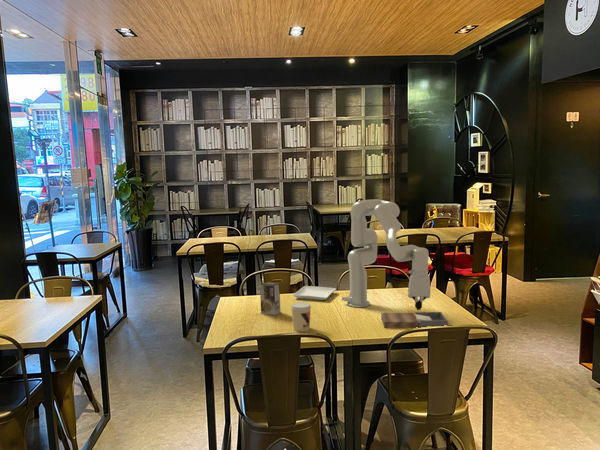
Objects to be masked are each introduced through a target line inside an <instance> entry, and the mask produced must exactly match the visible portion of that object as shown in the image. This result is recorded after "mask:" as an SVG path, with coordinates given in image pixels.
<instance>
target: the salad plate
mask: <svg viewBox="0 0 600 450" xmlns="http://www.w3.org/2000/svg"><path fill="white" fill-rule="evenodd" d="M336 290H337V288H333V287H327V286H326V287H325V286H324V287H323V286H312V285H310V286H309V285H304V286H302V287H301V288H299V290H298V291H295V292H294V293H293V294H292V295H293V297H295V298H297V299H301V300H312V301H314V300H315V301H325V300H327V299H328V298H329V297H330V296H331V295H332V294H333V293H335V291H336ZM325 292H329V293H325ZM307 293H308V294H307Z"/></svg>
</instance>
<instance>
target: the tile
mask: <svg viewBox="0 0 600 450" xmlns="http://www.w3.org/2000/svg"><path fill="white" fill-rule="evenodd" d="M414 316H415V317H416V319H417V321H418V323H420V320H431V318H430V317H429V316H423V315H417V314H416V315H415V314H414Z"/></svg>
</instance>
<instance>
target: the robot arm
mask: <svg viewBox="0 0 600 450" xmlns="http://www.w3.org/2000/svg"><path fill="white" fill-rule="evenodd" d="M400 212H401V210H400V207H399V205H398V204H396V202H393V201H388V200H383V199H381V198H380V199H379V198H378V199H377V198H376V199H375V198H374V199H363V200H359V201H356V202H354V203H353V204H352V206H351V207H350V220H351V221H350V222H351V228H350V242H351V245H352V246H353V247H355V248H356V249H352V250H351V251H349V253H348V255H347V261H348V268H349V295H348V296H347V297H345V296H341V301H343V302H346V303H347V304H346V305H347V306H349V307H352V308H366V307H369V306H370V304H371V303H370V301H369V300H368V275H367V274H368V273H367V270H366V268H365V266H367V265H371V264H373V263H375V262H376V260H377V258H378V244H379V243H378V235H377V232H376V231H375V230H374V229H373V228H368V221H367V218H366V216H367V217H368V216H375V217H376V219H377V221H378V223H379V224H380V226H381V228H382V229H383V230H384V232H385V234H386V235H385V244H386V247H387V250H388V252H389V253H390V256H392V259H394V260H395V261H396V262H398V263H400V262H401V263H402V262H408V261H412V262H411V269H410V270H408V274H410V276H409V280H408V286H407V287H408V289H407V293H408V294H407V297H408V298H409V299H412V300H414V307H415V309H416V310H417V311H421V310H422V308H423V302H424V301H425V300H426V299H430V298H431V280H430V279H431V278H430V275H428V273H429V272H428V271H429V270H428V269H429V250H428V249H427V248H425V247H419V246H417V245H414V244H407V245H402V246H401V245H400V244H399V241H398V239H397V233H398V232H399V231H400V230H401V228H402V225H401V223H400V221H399V220H398V219H397V217H399V215H400ZM357 247H358V248H357Z"/></svg>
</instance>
